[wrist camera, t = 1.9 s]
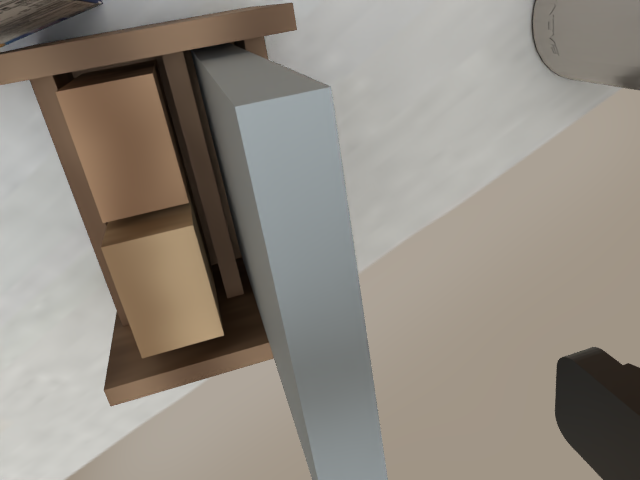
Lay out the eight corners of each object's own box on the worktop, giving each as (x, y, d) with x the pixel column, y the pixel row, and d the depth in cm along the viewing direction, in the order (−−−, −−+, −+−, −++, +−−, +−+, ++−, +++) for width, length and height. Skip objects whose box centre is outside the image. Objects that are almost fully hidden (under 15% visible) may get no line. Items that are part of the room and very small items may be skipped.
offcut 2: (185, 168, 33) (193, 225, 24) (209, 254, 35) (224, 335, 26) (118, 182, 32) (100, 247, 23) (148, 269, 34) (142, 358, 25)
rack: (249, 7, 31) (292, 2, 21) (296, 246, 38) (347, 336, 28) (37, 44, 29) (-36, 60, 19) (127, 290, 36) (110, 406, 25)
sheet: (224, 41, 30) (331, 86, 11) (268, 243, 36) (392, 516, 16) (189, 47, 30) (234, 106, 10) (239, 250, 36) (331, 539, 16)
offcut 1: (155, 59, 30) (152, 73, 23) (183, 161, 32) (188, 202, 25) (82, 73, 29) (55, 92, 22) (117, 176, 32) (102, 223, 25)
